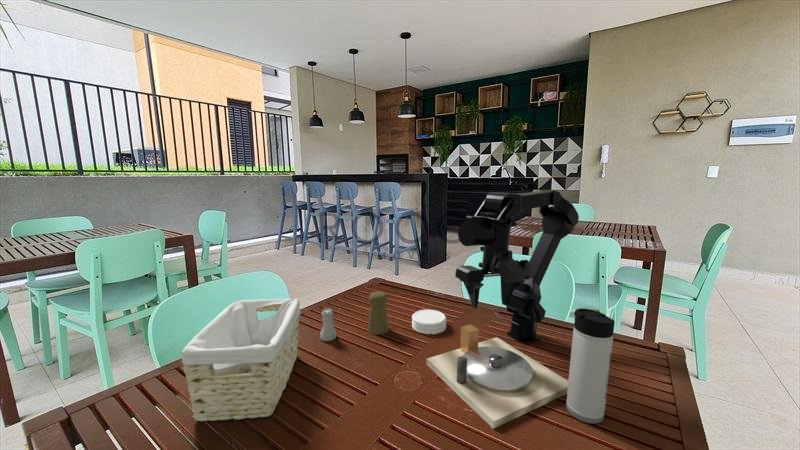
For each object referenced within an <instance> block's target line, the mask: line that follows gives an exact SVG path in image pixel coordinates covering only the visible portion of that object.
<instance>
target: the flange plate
mask: <svg viewBox="0 0 800 450" xmlns="http://www.w3.org/2000/svg"><path fill="white" fill-rule="evenodd" d="M460 327H461V328H460V346H459V347H460V348H459V349H462V350H463V351H464V352H465V353H464V354H463V356H462V357H465V358H467V378H468V379H469V380H470V381H472V382H473V383H475V384H477V385H479V386H481V387H483V388H486V389H489V390H493V391H499V392H514V391H519V390H522V389H524V388H526V387H527V386H528V385H529V384H530V383H531V381H532V374H533V371H532V367H531V365H530V364H529V363H528V362H527V361H526V360H525V359H524V358H523V357H521V356H520V355H518V354H516V353H514V352H512V351H509V350H506V349H503V348H498V347H478V343H479V338H480V337H479V335H480V328H478V327H475V325H473V324H466V325H464V326H460Z"/></svg>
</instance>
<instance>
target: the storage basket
mask: <svg viewBox="0 0 800 450" xmlns="http://www.w3.org/2000/svg"><path fill="white" fill-rule="evenodd" d="M257 312H260V313H263V312H276V314H275V315H271V316H269V317H267V318H265V319H262V320H259V318H258V313H257ZM300 313H301V308H300V299H299V298H296V297H294V298H270V299H269V298H267V299H266V298H264V299H240V300H238V299H237V300H236V301H235V302H233V303H231V304H230V305H228V306H226V308H225V309H223V310H222V311H221V312H220V313H219V314H217V316H216V317H214V318H213V319H212V320H211V321H210V322H209V323H207V325H206V326H204V327H203V328H202V329H201V330H200V331H199V332H198V333H197V334H196V335H195V336H193V337H192V339H191V340H190V341H189V342H188V343H187V344H186V345H185V347H184V348H183V350H182V352H181V363H182V365H183V367H182V369H183V373H184V374H185V379H186V381H187V386H188V387H187V389H188V394H189V396H190V403H191V407H192V413H193V415H192V417H193V418H194V420H195V421H199V422H207V421H211V422H213V421H227V420H228V421H230V420H232V419H233V420H239V421H240V420H244V419H257V418H267V417H270V416H271V415H273V413H274V412H275V409H277V408H276V407H277V405H278V403H279V401H280V398H281V397H282V395H283V393H284V392H283V391H284V390H285V389H286V387H287V382H289V379H290V376H291V375H290V374H291V373H292V372H293V367H294V364H295V362H296V361H297V355H298V343H299V323H300V319H299V318H300Z"/></svg>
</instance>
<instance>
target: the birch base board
mask: <svg viewBox="0 0 800 450" xmlns="http://www.w3.org/2000/svg"><path fill="white" fill-rule="evenodd" d="M478 347H498V348H503V349H506V350H509V351H512V352H514V353H516V354H518V355H520V356H521V357H523V358H524V359H525V360H526V361H527V362H528V363H529V364H530V365H531V367H532V371H533V374H532V381H531V383H530V384H529V385H528V386H527V387H526V388H524V389H522V390H519V391H514V392H499V391H493V390H489V389H486V388H483V387H481V386H479V385H477V384H475V383H473V382H472V381H470V380H469V379H468V378H467V358H465V357H462V356H463V354H464V353H465V352H464V351H463V350H462V349H460V348H457V349H453V350H450V351H447V352H444V353H440V354H437V355H434V356H431V357H427V358H426V366H427V367H428V368H430V370H431V371H432V372H434V373H435V374H436V376H438V377H439V378H440V379H441V380H442V381H443V382H444V384H446V385H447V386H448V387H449V388H450V389H451V390H452V391H453V392H454V393H455V394H457V396H458V397H460V398H461V399H462V401H463V402H464V403H466V404H467V405H468V406H469V407H470V408H471V409H472V410H473V411H474V412H475V413H476V414H477V415H478V416H479V417H480V418H481V419H482V420H483V421H484V422H486V423H487V424H488V425H489V426H490V428H491V429H492V430H494V429H496V428H498V427H500V426H502V425H505V424H506V423H508V422H510V421H513V420H515V419H517V418H519V417H521V416H523V415H526V414H527V413H531V411H532V412H533V410H536V409H538V408H540V407H542V406H544V405H546V404H549V403H551V402H552V401H554V400H557V399H559V398H561V397H563V396H565V395H566V396H567V390H568V380H569V379H568V380H567V379H566V378H564V377H562V376H561V375H559V374H557V372H555V371H552V369H550V368H548V367H546V366H544V365H543V364H541V363H540V362H538V361H537V360H535V359H533V358H532V357H530V356H528V355H526V354H525V353H523V352H522V351H520V350H519V349H517V348H515V347H514V346H512V345H510V344H508V343H507V342H505V341H504V340H502V339H501V338H499V337H497V336H496V337H494V338H493V337H492V338H489V339H486V340H483V341H478Z"/></svg>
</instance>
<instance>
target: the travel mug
mask: <svg viewBox="0 0 800 450" xmlns="http://www.w3.org/2000/svg"><path fill="white" fill-rule="evenodd" d="M573 312H574V313H573V316H574V324H573V330H572V340H571V349H570V360H569V361H570V362H569V371H568V390H567V394H566V403H565V407H566V410H567V412H568V413H569V414H570V415H571V416H572V417H573V418H575V419H577V420H579V421H581V422H583V423H585V424H586V423H587V424H592V425H593V424H594V425H595V424H599V423H601V422H603V421H604V418H605V411H606V410H605V409H606V403H607V394H608V393H607V392H608V385H609V378H610V377H609V376H610V369H611V368H610V367H611V359H612V351H613V343H614V331H615V330H614V329H615V323H616V322H615V320H614V319H613V318H612V317H609V316H607V315H606V314H605V313H602V312H600V311H597V310H593V309H589V308H577V309H575V311H573Z"/></svg>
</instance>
